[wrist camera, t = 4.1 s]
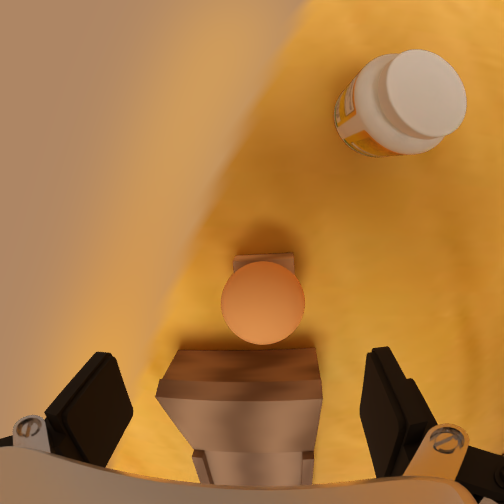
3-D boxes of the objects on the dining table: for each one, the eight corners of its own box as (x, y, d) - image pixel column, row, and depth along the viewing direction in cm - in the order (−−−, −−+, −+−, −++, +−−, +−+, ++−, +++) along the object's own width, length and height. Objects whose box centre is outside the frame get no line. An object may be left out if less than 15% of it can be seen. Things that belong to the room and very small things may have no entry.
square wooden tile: (292, 252, 23) (293, 258, 21) (295, 305, 24) (295, 314, 22) (235, 255, 23) (232, 261, 22) (240, 307, 24) (238, 316, 22)
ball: (301, 250, 21) (306, 274, 16) (303, 320, 22) (308, 358, 17) (224, 254, 21) (208, 278, 17) (231, 323, 23) (219, 360, 18)
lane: (315, 344, 24) (322, 392, 18) (304, 530, 32) (304, 563, 26) (177, 347, 25) (153, 390, 20) (227, 529, 33) (221, 561, 27)
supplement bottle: (319, 100, 20) (345, 51, 11) (383, 74, 19) (442, 23, 10) (354, 170, 21) (406, 171, 12) (417, 141, 20) (495, 130, 11)
